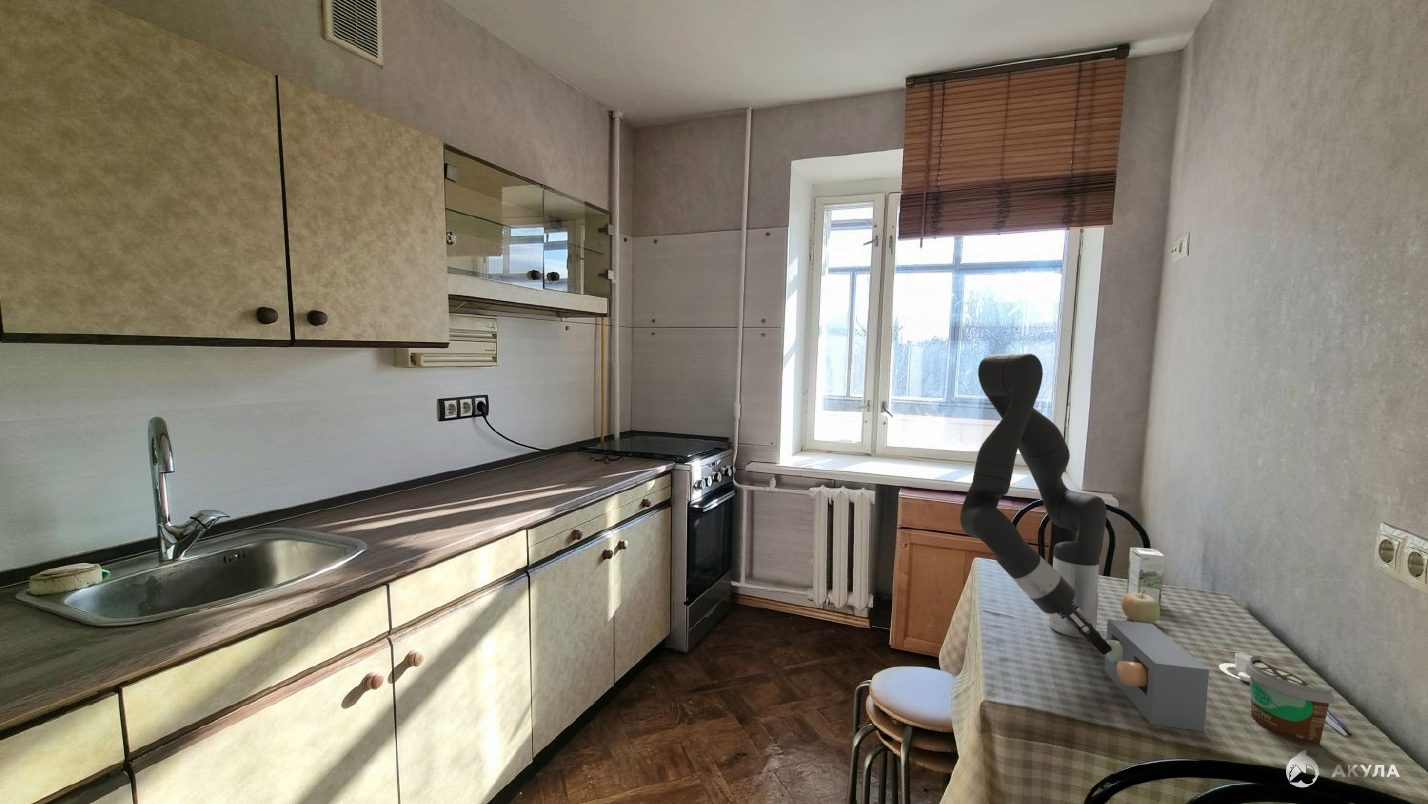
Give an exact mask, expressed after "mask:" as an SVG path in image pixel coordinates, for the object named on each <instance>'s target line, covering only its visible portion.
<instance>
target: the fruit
mask: <svg viewBox="0 0 1428 804" xmlns="http://www.w3.org/2000/svg"><path fill="white" fill-rule="evenodd" d="M1144 593H1145V591H1144V590H1143V594H1142V593H1130V594H1127V593H1126V595H1125V596H1123V598H1122V601H1121V607H1122V612H1123V613H1124V615H1125V616H1126V617H1127V618H1128V619H1129V620H1130V621H1131V622H1138V623H1148V624H1154V623H1157V621H1158V620H1159V619H1160V617H1161V606H1160V607H1159V604H1158V603H1157V601H1156V600H1155V599H1154V598H1152V597H1150V596H1148V595H1145V594H1144Z"/></svg>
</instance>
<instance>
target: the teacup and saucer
mask: <svg viewBox="0 0 1428 804" xmlns="http://www.w3.org/2000/svg"><path fill="white" fill-rule="evenodd" d="M1251 657H1253V655H1250V654H1247V653H1243V652H1235V654H1234V663H1229V662H1228V663H1225V662H1224V663H1221V664H1219V665H1218V668H1219V669H1220V670H1221V671H1222V673H1224V674H1226V675H1228V676H1230V677H1232V678H1234V679H1237V680H1240V681H1243V682H1247V683H1250V676H1249V675H1248V674H1247V673H1246V671H1245V667H1246V665H1247V662H1248V660H1250V658H1251ZM1228 668H1235V671H1236V672H1237V673H1236V674H1237V676H1236V675H1234V674H1232V673H1231V672H1230V671H1228Z"/></svg>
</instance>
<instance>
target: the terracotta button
mask: <svg viewBox="0 0 1428 804" xmlns="http://www.w3.org/2000/svg"><path fill="white" fill-rule="evenodd" d="M1148 671H1149V668H1148V667H1147V666H1145V665H1144V664H1143V663H1136V662H1127V661H1119V662H1118V663H1117V675H1118V678H1119V680H1120V682H1121V683H1122V684H1123V685H1131V686H1139V687H1147V685H1148Z"/></svg>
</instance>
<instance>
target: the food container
mask: <svg viewBox="0 0 1428 804" xmlns="http://www.w3.org/2000/svg"><path fill="white" fill-rule="evenodd" d="M1261 659H1262V658H1261V654H1259V655H1252V657H1251V658H1250V660H1248V662H1247V665H1246V667H1245V671H1246V673H1247V674H1248V675H1249V676H1250V682H1249V685H1250V687H1249V689H1250V707H1251V708H1250V709H1251V711H1250V712H1251V713H1250V715H1251V718H1252V719H1253V721H1254V720H1255V721H1256V722H1255V723H1256V724H1258V725H1259V726H1260V725H1261V726H1260V727H1262V726H1263V727H1262V728H1264V729H1265V728H1266V729H1265V730H1267V729H1268V731H1269V730H1270V731H1269V732H1271V733H1273V734H1276V735H1278V736H1281V737H1284V738H1286V739H1289V740H1293V741H1295V742H1300V743H1305V744H1310V745H1320V744H1321V741H1322V737H1323V736H1322V735H1323V733H1324V732H1323V731H1324V728H1325V723H1326V719H1327V716H1328V715H1327V714H1328V710H1329V706H1330V704H1335V699H1334V697H1335V696H1334V694H1333V692H1332V689H1329V688H1328V689H1326V688H1317V687H1315V686H1313V685H1311V684H1309V683H1308V682H1306V681H1305V680H1303V679H1302V678H1300V677H1298V676H1297V675H1295V674H1293V673H1290V672H1289V671H1285V670H1282V669H1279V668H1277V667H1275V666H1272V665H1271V664H1268V663H1266V662H1265V661H1262V660H1261Z"/></svg>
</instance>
